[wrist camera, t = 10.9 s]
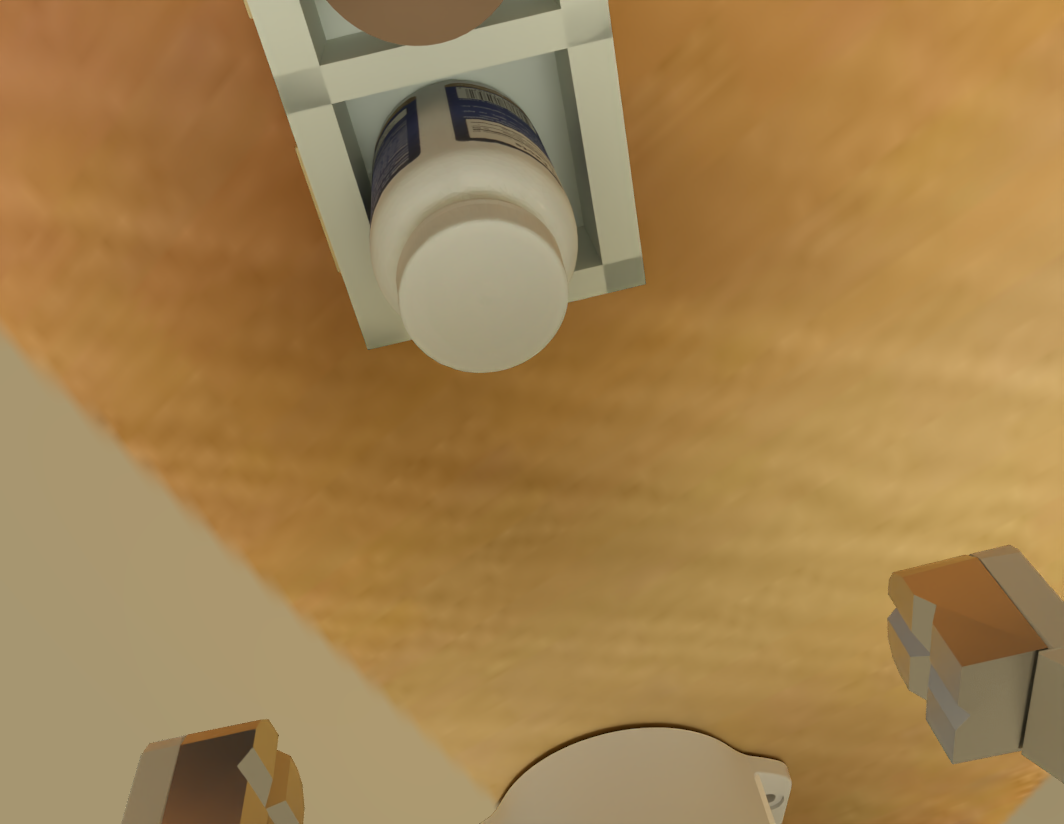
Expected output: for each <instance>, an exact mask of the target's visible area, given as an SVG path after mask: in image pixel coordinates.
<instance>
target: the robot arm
mask: <svg viewBox="0 0 1064 824" xmlns="http://www.w3.org/2000/svg"><path fill="white" fill-rule="evenodd" d="M888 595H889V596H890V598H891V600H892V601H893V603H894V605H895V606H896V609H895V610H894V611H893V612H892V614H891V615H890V616H889V617H888V619H887V621H888V640H889V644H890V648H891V652H892V657H893V659H894V662H895V664H896V666H897V669H898V671H899V673H900V675H901V677H902V679H903V681H904V682H905V684H906V686H907V688H908V689H909V691H911V692H913V693H915V694H916V695H918V696H920V697H922V698H924V699H925V700H927V708H926V720H927V722H928V724H929V726H930V727H931V729H932V731H933V732H934V734H935V736H936V737H937V739H938V741H939V742H940V744H941V746H942V747H943V749H944V751H945V753H946V754H947V756H948V758H949V759H950V761H951V763H952V764H957V763H962V762H967V761H972V760H977V759H982V758H987V757H992V756H997V755H1002V754H1007V753H1012V752H1017V751H1022V755H1023V756H1025V757H1026V758H1028V759H1029V760H1031V761H1032V762H1033V763H1035V764H1036V765H1038V766H1039V767H1041V768H1042V769H1044V770H1045V771H1047V772H1048V773H1049V774H1051V775H1052V776H1054V777H1055V778H1057V779H1058V780H1060V781H1061V782H1062V783H1064V602H1063V601H1062V599H1061V598H1060V597H1059V596H1058V595H1057V594H1056V592H1055V591H1054V590H1053V589H1052V588H1051V587H1050V586H1049V584H1048V583H1047V582H1046V581H1045V580H1044V579H1043V577H1042V576H1041V575H1040V574H1039V573H1038V572H1037V570H1036V569H1035V568H1034V567H1033V566H1032V565H1031V563H1030V562H1029V561H1028V560H1027V559H1026V558H1025V556H1024V555H1023V554H1022V553H1021V552H1020V551H1019V549H1017V548H1015V547H1013V546H1011V545H1007V546H1003V547H998V548H994V549H990V550H986V551H981V552H977V553H973V554H970V555H962V556H958V557H954V558H950V559H946V560H942V561H938V562H934V563H929V564H925V565H921V566H917V567H913V568H909V569H905V570H901V571H897V572H893V573H892V575H891V577H890V579H889V586H888ZM278 736H279V735H278V733H277V732H276V730H275V728H274V727H273V725H272V724H271V722H270V721H269V720H268V719H265V720H257V721H252V722H248V723H242V724H237V725H233V726H228V727H223V728H218V729H213V730H208V731H204V732H198V733H193V734H189V735H186V736H181V737H176V738H172V739H167V740H162V741H158V742H153V743H150V744H149V745H148V746H147V748H146V749H145V750H144V752H143V753H142V755H141V756H140V760H139V763H138V767H137V771H136V774H135V778H134V781H133V785H132V788H131V791H130V795H129V798H128V801H127V805H126V809H125V812H124V816H123V819H122V823H121V824H303V819H304V797H303V786H302V782H301V779H300V775H299V772H298V769H297V767H296V765H295V763H294V761H293V759H292V758H291V756H289V755H287V754H285V753H283V752H280V751H278V750H277V743H278ZM791 788H792V781H791V778H790V774H789V771H788V767H787V765H786V764H784V763H783V762H781V761H778V760H774V759H769V758H763V757H756V756H748V755H745V754H742V753H740V752H738V751H736V750H734V749H732V748H731V747H729V746H728V745H726V744H724V743H723V742H721V741H719V740H717V739H715V738H713V737H710V736H707V735H704V734H701V733H698V732H694V731H689V730H684V729H676V728H658V727H654V728H636V729H628V730H621V731H616V732H611V733H606V734H602V735H599V736H595V737H592V738H589V739H585V740H583V741H580V742H577V743H575V744H572V745H570V746H567V747H565V748H563V749H561V750H559V751H557V752H555V753H553V754H551V755H550V756H548V757H546V758H545V759H543V760H541V761H540V762H538V763H537V764H535V765H534V766H533V767H531V768H530V769H529V770H528V771H526V772H525V773H524V774H523V775H522V776H521V777H520V778H519V779H518V780H517V781H516V782H515V783H514V784H513V785H512V786H511V788H510V789H509V790H508V792H507V793H506V795H505V796H504V798H503V800H502V801H501V803H500V804H499V806H498V808H497V809H496V810H495V812H494V813H493V814H492V815H491V816H490V817H488V818H487V819H486V820H484V821H483V822H481V823H480V824H782V821H783V817H784V814H785V810H786V806H787V803H788V799H789V795H790V792H791Z"/></svg>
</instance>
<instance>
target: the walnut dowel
mask: <svg viewBox="0 0 1064 824" xmlns="http://www.w3.org/2000/svg"><path fill="white" fill-rule="evenodd" d="M326 1H327V2H328V3H329V4H330V5H331V6H332V8H333V9H334V10H335V11H337V12H338V13H339V14H340V15H341V16H342V17H343V18H344V19H345V20H347V21H348V22H349V23H351V24H352V25H354V26H355V27H356V28H358V29H360V30H362V31H363V32H365V33H367V34H369V35H371V36H373V37H376V38H378V39H381V40H383V41H387V42H391V43H395V44H399V45H408V46H428V45H434V44H440V43H444V42H447V41H450V40H453V39H456V38H458V37H460V36H462V35H464V34H467V33H468V32H470V31H471V30H473V29H475V28H476V27H478V26H479V25H480V24H482V23H483V22H484V21H485V20H486V19H487V18H489V17H490V16H491V15H492V14H493V12H494V11H495V10H496V9H497V8H498V7H499V6H500V5H501V3H502V2H503V0H326Z"/></svg>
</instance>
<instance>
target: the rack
mask: <svg viewBox="0 0 1064 824" xmlns="http://www.w3.org/2000/svg"><path fill="white" fill-rule="evenodd" d="M243 1H244V4H245V7H246V9H247V12H248V15H249V18H250V19H251V18H253V20H254V23H255V25H256V28H257V31H258V34H259V37H260V40H261V43H262V46H263V49H264V51H265V54H266V57H267V60H268V63H269V66H270V69H271V72H272V75H273V77H274V80H275V83H276V86H277V89H278V92H279V95H280V98H281V101H282V103H283V106H284V109H285V112H286V115H287V118H288V121H289V124H290V127H291V129H292V132H293V135H294V138H295V141H296V146H295V150H296V153H297V156H298V159H299V162H300V164H301V167H302V170H303V173H304V176H305V179H306V182H307V185H308V187H309V190H310V193H311V196H312V199H313V202H314V205H315V208H316V210H317V213H318V216H319V219H320V222H321V225H322V228H323V231H324V233H325V236H326V239H327V242H328V245H329V248H330V251H331V254H332V256H333V259H334V262H335V265H336V268H337V271H338V272H341V274H342V277H343V280H344V283H345V285H346V288H347V291H348V294H349V297H350V300H351V303H352V306H353V309H354V311H355V314H356V317H357V320H358V323H359V326H360V329H361V332H362V335H363V337H364V340H365V343H366V346H367V349H368V350H370V349H374V348H379V347H383V346H387V345H391V344H395V343H400V342H404V341H408V340H412V339H411V337H410V336H409V334H408V332H407V330H406V329H405V327H404V324H403V322H402V319H401V316H400V315H399V314H398V313H397V312H396V311H395V310H394V309H393V308H392V307H391V305H390V304H389V303H388V301H387V300H386V298H385V297H384V295H383V293H382V291H381V289H380V287H379V285H378V282H377V280H376V278H375V274H374V271H373V267H372V262H371V254H370V238H369V235H370V217H371V188H372V163H373V156H374V150H375V145H376V142H377V138H378V135H379V132H380V130H381V128H382V126H383V124H384V122H385V120H386V119H387V117H388V116H389V114H390V113H391V112H392V111H393V109H394V108H395V107H396V106H397V105H398V104H399V103H400V102H401V101H403V100H404V99H405V98H407V97H408V96H410V95H411V94H413V93H415V92H416V91H418V90H420V89H422V88H424V87H427V86H430V85H432V84H436V83H439V82H444V81H448V80H464V81H472V82H477V83H481V84H484V85H487V86H490V87H492V88H494V89H497V90H498V91H500V92H502V93H503V94H505V95H507V96H508V97H509V98H511V99H512V100H513V101H514V102H515V103H516V104H517V105H518V106H520V107H521V109H522V110H523V111H524V112H525V114H526V115H527V117H528V118H529V119H530V121H531V122H532V124H533V126H534V128H535V130H536V131H537V133H538V135H539V137H540V139H541V142H542V144H543V146H544V148H545V150H546V152H547V154H548V156H549V158H550V161H551V163H552V165H553V167H554V169H555V172H556V174H557V176H558V178H559V180H560V182H561V185H562V187H563V189H564V191H565V193H566V195H567V197H568V200H569V202H570V204H571V207H572V210H573V214H574V218H575V222H576V227H577V235H578V251H577V260H576V265H575V269H574V272H573V275H572V278H571V280H570V283H569V285H568V302H573V301H577V300H581V299H585V298H589V297H594V296H598V295H602V294H606V293H611V292H615V291H619V290H623V289H627V288H632V287H636V286H640V285H644V284H646V281H645V273H644V266H643V258H642V251H641V243H640V236H639V228H638V221H637V214H636V206H635V199H634V191H633V184H632V176H631V169H630V162H629V154H628V147H627V139H626V132H625V124H624V117H623V109H622V102H621V95H620V87H619V80H618V72H617V65H616V57H615V50H614V42H613V35H612V28H611V20H610V13H609V5H608V0H503V2H502V3H501V5H500V6H499V7H498V8H497V9H496V10H495V11H494V12H493V14H492V15H491V16H490V17H489V18H487V19H486V20H485V21H484V22H483V23H482V24H480V25H479V26H478V27H476V28H475V29H473V30H471V31H470V32H468V33H467V34H464V35H462V36H460V37H458V38H456V39H453V40H450V41H447V42H444V43H440V44H434V45H428V46H408V45H399V44H395V43H391V42H387V41H383V40H381V39H378V38H376V37H373V36H371V35H369V34H367V33H365V32H363V31H362V30H360V29H358V28H356V27H355V26H354V25H352V24H351V23H349V22H348V21H347V20H345V19H344V18H343V17H342V16H341V15H340V14H339V13H338V12H337V11H335V10H334V9H333V8H332V6H331V5H330V4H329V3H328V2H327V1H326V0H243Z"/></svg>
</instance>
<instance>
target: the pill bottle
mask: <svg viewBox="0 0 1064 824" xmlns="http://www.w3.org/2000/svg"><path fill="white" fill-rule="evenodd" d="M369 238H370V254H371V262H372V267H373V271H374V274H375V278H376V280H377V282H378V285H379V287H380V289H381V291H382V293H383V295H384V297H385V298H386V300H387V301H388V303H389V304H390V305H391V307H392V308H393V309H394V310H395V311H396V312H397V313H398V314H399V315H400V316H401V319H402V322H403V324H404V327H405V329H406V330H407V332H408V334H409V336H410V337H411V339H412V340H413V341H414V343H415V344H416V345H417V346H418V347H419V348H420V349H421V350H422V351H423V352H424V353H425V354H426V355H428V356H429V357H430V358H432V359H434V360H435V361H437V362H439V363H440V364H442V365H445V366H448V367H451V368H453V369H456V370H460V371H464V372H472V373H488V372H497V371H501V370H506V369H509V368H512V367H514V366H517V365H519V364H521V363H524V362H525V361H527V360H529V359H530V358H532V357H533V356H535V355H536V354H537V353H539V352H540V351H541V350H542V349H543V348H544V347H545V346H546V345H547V344H548V343H549V342H550V341H551V340H552V338H553V337H554V336H555V334H556V333H557V331H558V329H559V328H560V326H561V324H562V321H563V319H564V316H565V313H566V310H567V305H568V285H569V283H570V280H571V278H572V275H573V272H574V269H575V265H576V260H577V251H578V235H577V227H576V222H575V218H574V214H573V210H572V207H571V204H570V202H569V200H568V197H567V195H566V193H565V191H564V189H563V187H562V185H561V182H560V180H559V178H558V176H557V174H556V172H555V169H554V167H553V165H552V163H551V161H550V158H549V156H548V154H547V152H546V150H545V148H544V146H543V144H542V142H541V139H540V137H539V135H538V133H537V131H536V130H535V128H534V126H533V124H532V122H531V121H530V119H529V118H528V117H527V115H526V114H525V112H524V111H523V110H522V109H521V107H520V106H518V105H517V104H516V103H515V102H514V101H513V100H512V99H511V98H509V97H508V96H507V95H505V94H503V93H502V92H500V91H498V90H497V89H494V88H492V87H490V86H487V85H484V84H481V83H477V82H472V81H464V80H448V81H444V82H439V83H436V84H432V85H430V86H427V87H424V88H422V89H420V90H418V91H416V92H415V93H413V94H411V95H410V96H408V97H407V98H405V99H404V100H403V101H401V102H400V103H399V104H398V105H397V106H396V107H395V108H394V109H393V111H392V112H391V113H390V114H389V116H388V117H387V119H386V120H385V122H384V124H383V126H382V128H381V130H380V132H379V135H378V138H377V142H376V145H375V150H374V156H373V163H372V188H371V217H370V235H369Z"/></svg>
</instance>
